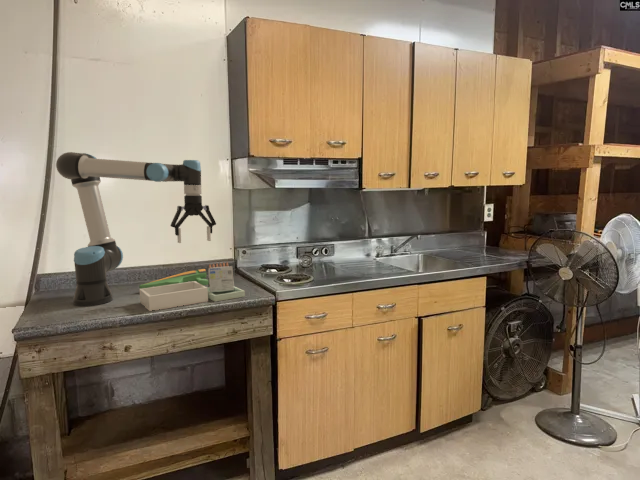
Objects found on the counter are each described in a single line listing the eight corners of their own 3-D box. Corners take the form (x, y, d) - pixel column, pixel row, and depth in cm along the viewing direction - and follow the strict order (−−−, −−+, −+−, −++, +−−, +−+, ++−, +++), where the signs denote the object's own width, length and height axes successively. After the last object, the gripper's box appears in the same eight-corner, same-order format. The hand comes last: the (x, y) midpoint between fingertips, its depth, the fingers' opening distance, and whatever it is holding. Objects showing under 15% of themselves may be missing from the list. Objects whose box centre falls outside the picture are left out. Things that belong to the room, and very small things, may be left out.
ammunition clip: (229, 285, 220) (228, 261, 219) (230, 285, 219) (229, 261, 217) (208, 288, 214) (207, 263, 213) (209, 289, 213) (208, 264, 211)
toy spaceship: (143, 295, 203) (142, 280, 202) (136, 291, 211) (135, 276, 210) (209, 284, 223) (208, 270, 222) (200, 281, 231) (200, 267, 230)
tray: (214, 301, 190) (214, 295, 189) (200, 293, 204) (200, 288, 203) (245, 296, 198) (244, 290, 197) (229, 289, 212) (229, 284, 211)
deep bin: (149, 311, 177) (148, 296, 177) (140, 302, 191) (139, 289, 190) (208, 301, 191) (207, 287, 190) (195, 293, 204) (194, 281, 203)
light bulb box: (233, 290, 205) (231, 266, 206) (234, 290, 199) (233, 265, 200) (209, 292, 202) (207, 268, 203) (209, 292, 196) (208, 267, 197)
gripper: (166, 195, 191) (168, 244, 194) (222, 194, 205) (223, 240, 208) (162, 194, 198) (164, 242, 200) (216, 194, 211) (217, 238, 214)
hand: (194, 241), depth 204 cm, fingers open, 13 cm apart
